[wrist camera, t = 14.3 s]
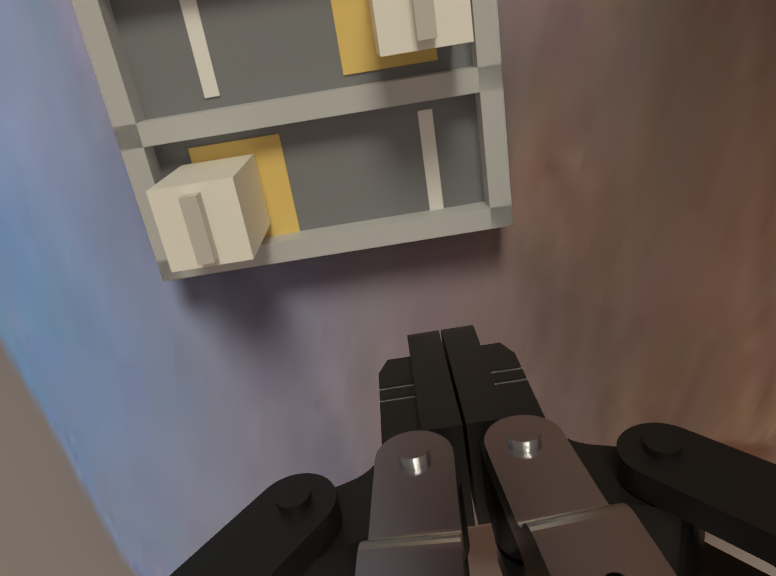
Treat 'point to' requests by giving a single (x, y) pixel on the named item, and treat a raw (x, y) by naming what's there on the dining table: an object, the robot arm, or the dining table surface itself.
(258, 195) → the tab
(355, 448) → the dining table surface
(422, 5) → the tab
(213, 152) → the switch bank
